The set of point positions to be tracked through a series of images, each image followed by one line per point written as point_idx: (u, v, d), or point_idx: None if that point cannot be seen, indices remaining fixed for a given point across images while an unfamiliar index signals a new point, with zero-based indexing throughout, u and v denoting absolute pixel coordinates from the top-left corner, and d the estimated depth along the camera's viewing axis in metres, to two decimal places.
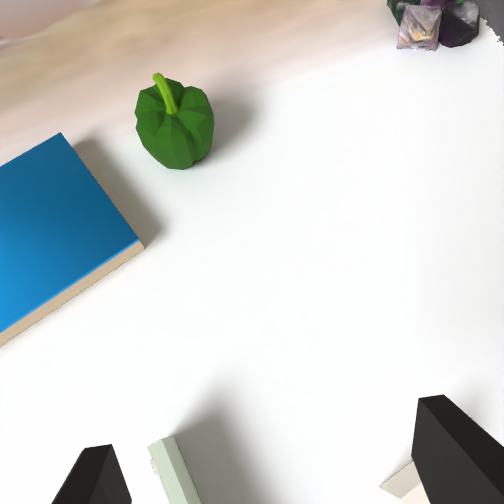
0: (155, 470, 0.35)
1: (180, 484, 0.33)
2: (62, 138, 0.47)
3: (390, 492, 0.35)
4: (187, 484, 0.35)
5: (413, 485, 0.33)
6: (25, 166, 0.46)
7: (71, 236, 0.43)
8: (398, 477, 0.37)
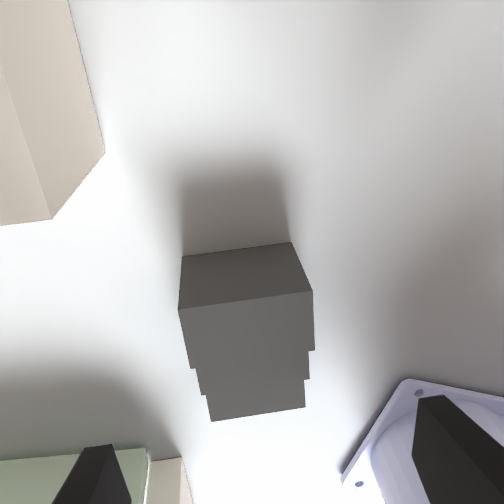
0: None
1: None
2: None
3: None
4: None
5: None
6: None
7: None
8: None
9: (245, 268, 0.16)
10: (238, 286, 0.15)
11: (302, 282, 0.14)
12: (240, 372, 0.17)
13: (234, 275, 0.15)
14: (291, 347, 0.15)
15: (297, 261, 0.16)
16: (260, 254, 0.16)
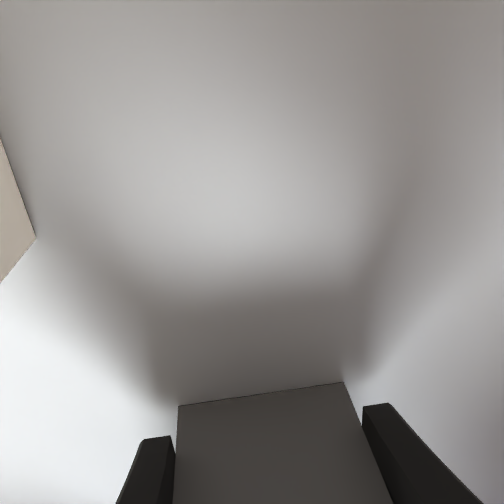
0: None
1: None
2: None
3: None
4: None
5: None
6: None
7: None
8: None
9: (280, 456, 0.10)
10: None
11: None
12: None
13: (264, 477, 0.09)
14: None
15: (365, 444, 0.10)
16: (301, 421, 0.10)
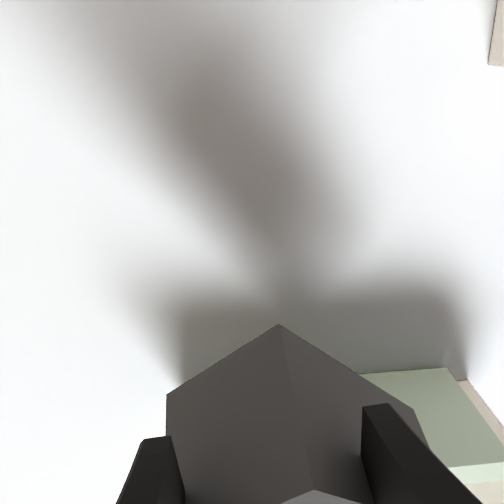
0: None
1: None
2: None
3: None
4: None
5: None
6: None
7: None
8: None
9: (228, 424, 0.11)
10: (222, 482, 0.10)
11: (299, 462, 0.09)
12: None
13: (218, 449, 0.10)
14: None
15: (290, 393, 0.10)
16: (244, 382, 0.11)
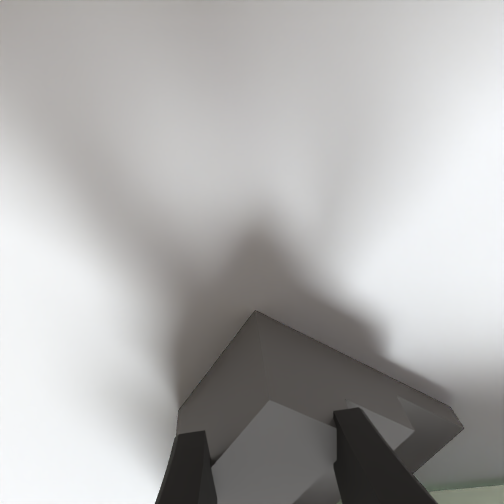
0: None
1: None
2: None
3: None
4: None
5: None
6: None
7: None
8: None
9: (218, 389, 0.12)
10: (211, 434, 0.11)
11: (261, 386, 0.10)
12: (328, 480, 0.12)
13: (210, 412, 0.11)
14: (328, 455, 0.10)
15: (257, 340, 0.11)
16: (229, 352, 0.12)
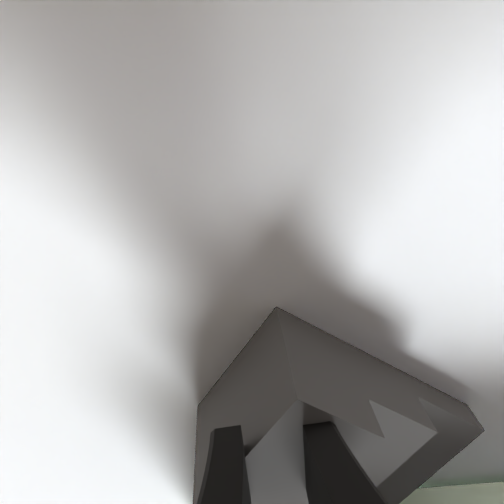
0: None
1: None
2: None
3: None
4: None
5: None
6: None
7: None
8: None
9: (240, 389, 0.12)
10: None
11: (287, 385, 0.10)
12: None
13: (232, 412, 0.11)
14: None
15: (281, 339, 0.11)
16: (251, 351, 0.12)
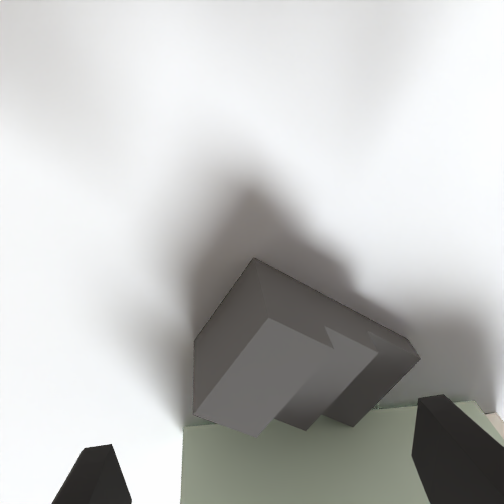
0: None
1: None
2: None
3: None
4: (285, 472, 0.17)
5: None
6: None
7: None
8: None
9: (227, 323, 0.15)
10: (224, 353, 0.14)
11: (261, 311, 0.13)
12: (313, 395, 0.16)
13: (222, 340, 0.15)
14: (311, 363, 0.13)
15: (258, 282, 0.14)
16: (235, 296, 0.15)
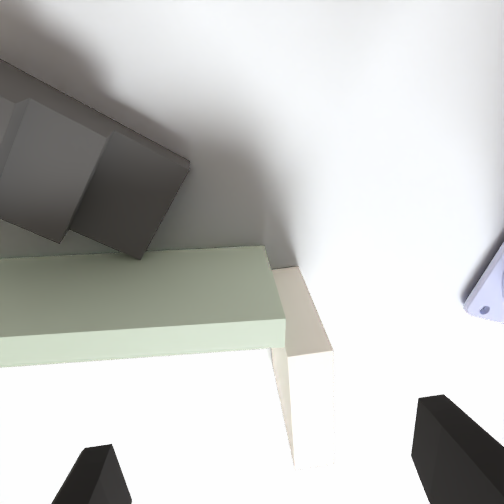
0: None
1: None
2: None
3: None
4: (17, 290, 0.16)
5: None
6: None
7: None
8: None
9: None
10: None
11: None
12: (51, 194, 0.15)
13: None
14: None
15: None
16: None
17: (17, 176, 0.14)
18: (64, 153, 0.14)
